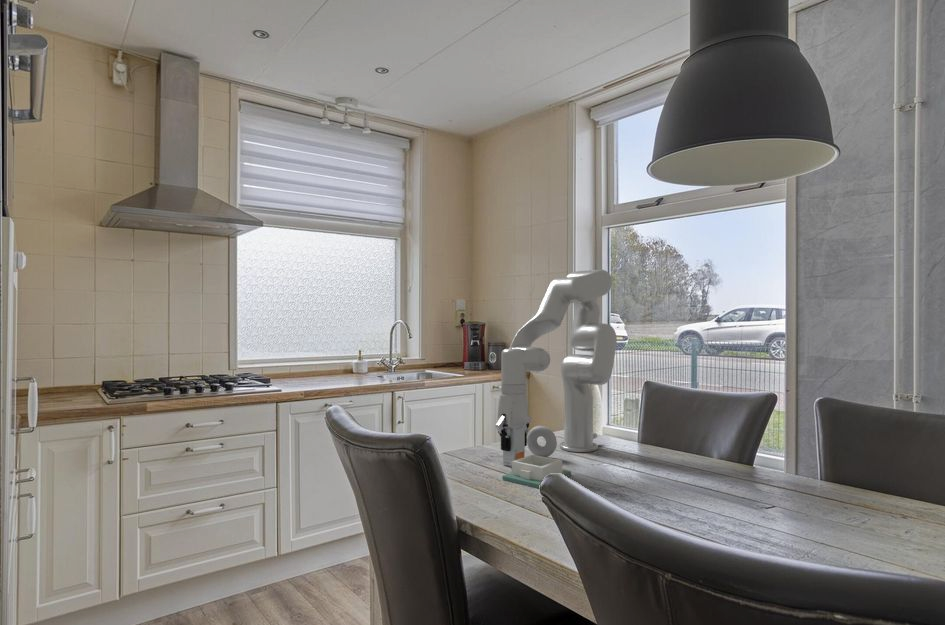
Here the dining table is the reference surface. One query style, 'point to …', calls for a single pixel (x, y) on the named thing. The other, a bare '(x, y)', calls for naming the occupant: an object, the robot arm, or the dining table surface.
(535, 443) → the donut
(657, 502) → the dining table surface
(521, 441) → the skincare box
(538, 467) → the board
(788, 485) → the dining table surface
